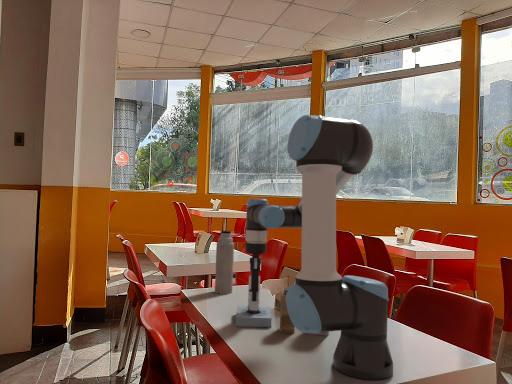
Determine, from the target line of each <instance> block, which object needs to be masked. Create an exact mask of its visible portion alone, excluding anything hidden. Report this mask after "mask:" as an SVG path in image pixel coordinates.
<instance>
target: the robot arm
mask: <svg viewBox="0 0 512 384" xmlns="http://www.w3.org/2000/svg"><path fill="white" fill-rule="evenodd" d="M373 151H374V143H373V138H372V135H371V132H370V131H369V129H368V128H367V127H366V126H365V125H364V124H363V123H361V122H359V121H357V120H354V119H346V118H338V117H331V116H326V115H320V114H316V115H314V114H313V115H311V114H305V115H302V116H300V117H299V118H298V119H297V120H296V121H295V122H294V124H293V125H292V128H291V129H290V132H289V136H288V139H287V153H288V156H289V158H290V159H291V160H293V161H295V162H296V168H295V169H296V170H297V172H299V174H301V200H300V201H299V202H298V204H296V205H276V204H275V205H274V204H269V201H268V200H267V198H249V199H248V200H247V202H246V203H247V204H246V209H245V210H246V217H245V218H246V219H245V220H246V221H245V222H246V223H245V241H246V242H245V247H244V248H245V249H244V253H246V254H250V255H251V257H249V264H250V265H249V271H250V273H251V272H252V275H251V274H250V275H251V290H249V292H250V310H258V290H259V289H258V283H259V276H260V272H261V264H262V258H261V257H260V255H265V254H267V236H269V234H270V233H268V229H269V230H270V229H274V230H275V229H301V254H300V255H301V256H300V257H301V269H300V270H299V271H298V272H297V274H295V277H294V279H295V281H294V283H293V284H290V285H289V286H288V289H287V290H288V291H287V293H286V305H287V310H288V314H289V317H290V319H291V321H292V323H293V325H294V326H295V329H297V331H299V332H301V333H302V334H303V333H304V334H309V333H320V332H329V333H330V332H336V331H340V336H339V337H338V338H339V339H338V341H337V345H336V347H335V350H334V352H333V355H332V356H333V357H332V359H333V360H332V364H333V367H334V369H336V370H337V371H338V372H339V373H341V374H344V375H346V376H349V377H351V378H356V379H361V380H369V381H375V380H376V381H377V380H378V381H379V380H385V379H389V378H390V377H391V376H393V373H394V361H393V357H392V354H391V350H390V347H389V344H388V319H389V318H388V313H389V301H390V298H389V289H388V286H387V284H385V282H382V281H379V280H376V279H372V278H368V277H362V276H356V275H346V274H345V275H344V276H341V274H339V272H338V271H337V194H338V193H339V192H340V191H341V190H342V189H343V188H344V186H345V185H346V184H347V183H348V182H349V181H350V179H352V177H353V176H356V175H359V174H360V173H361V172H363V170H364V169H365V168H366V167H367V165H368V163H369V162H370V160H371V158H372V155H373Z"/></svg>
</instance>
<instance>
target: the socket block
mask: <svg viewBox="0 0 512 384" xmlns="http://www.w3.org/2000/svg"><path fill="white" fill-rule="evenodd" d="M235 314H236V315H235V327H255V328H258V327H259V328H272V313H271V309H270V307H269V306H259V314H249V313H248V305H247V306H243V305H242V306H241V305H240V306H239V305H237V306H236V312H235Z"/></svg>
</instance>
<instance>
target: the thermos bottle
mask: <svg viewBox="0 0 512 384" xmlns="http://www.w3.org/2000/svg"><path fill="white" fill-rule="evenodd" d="M217 239H218V240H217V242H216V254H215V255H216V256H215V274H214V275H215V279H214V280H215V282H214V293H215V292H216V294H218V293H221V294H220V295H228V294H232V293H233V280H234V270H233V269H234V254H235V243H234V242H233V241H234V239H233V237H232V231H231V230H220V236H219V237H218V238H217Z"/></svg>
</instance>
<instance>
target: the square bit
mask: <svg viewBox="0 0 512 384" xmlns="http://www.w3.org/2000/svg"><path fill="white" fill-rule="evenodd" d="M287 289H288V288H285V287H284V292H280V309H279V332H280V334H281V333H283V334H295V329H296V327H295V326H294V325H293V323H292V321H291V319H290V317H289V314H288V310H287V305H286V293H287V291H288V290H287Z"/></svg>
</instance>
